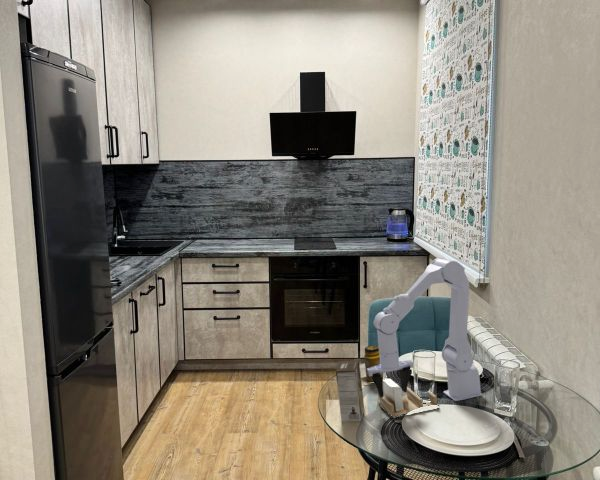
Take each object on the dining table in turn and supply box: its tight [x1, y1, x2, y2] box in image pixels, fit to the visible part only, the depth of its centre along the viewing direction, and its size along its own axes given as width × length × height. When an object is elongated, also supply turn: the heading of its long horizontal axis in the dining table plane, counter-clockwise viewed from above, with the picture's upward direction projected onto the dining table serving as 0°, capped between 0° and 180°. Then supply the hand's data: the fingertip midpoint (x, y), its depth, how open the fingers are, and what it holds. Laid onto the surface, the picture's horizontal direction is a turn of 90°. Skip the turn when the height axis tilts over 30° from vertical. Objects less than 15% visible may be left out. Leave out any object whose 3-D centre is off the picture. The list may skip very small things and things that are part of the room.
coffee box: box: [335, 359, 365, 423], centre depth 171 cm, size 9×6×16 cm
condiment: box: [361, 345, 384, 386], centre depth 198 cm, size 7×8×12 cm
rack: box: [377, 388, 438, 416], centre depth 174 cm, size 15×12×4 cm
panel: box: [382, 378, 404, 412], centre depth 172 cm, size 2×9×7 cm, turn 14°
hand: (392, 393), depth 172 cm, fingers open, 7 cm apart
